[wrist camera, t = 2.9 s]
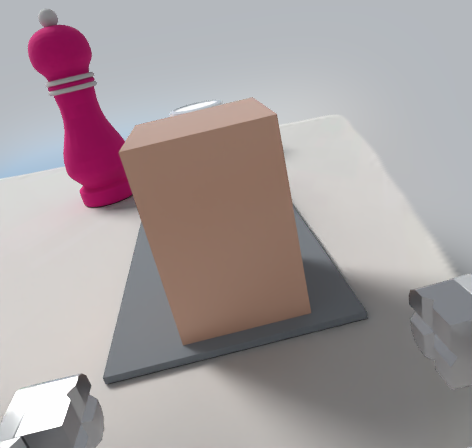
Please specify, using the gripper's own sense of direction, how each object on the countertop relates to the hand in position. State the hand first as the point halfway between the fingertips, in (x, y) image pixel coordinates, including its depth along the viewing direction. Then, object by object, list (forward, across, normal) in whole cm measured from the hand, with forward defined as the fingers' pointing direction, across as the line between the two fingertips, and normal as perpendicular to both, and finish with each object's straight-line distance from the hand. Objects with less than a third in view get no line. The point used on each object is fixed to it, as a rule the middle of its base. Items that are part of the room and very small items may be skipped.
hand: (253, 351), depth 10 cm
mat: (+20, +1, +6) cm, 21 cm away
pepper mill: (+40, +12, +6) cm, 42 cm away
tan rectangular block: (+12, 0, +6) cm, 14 cm away
